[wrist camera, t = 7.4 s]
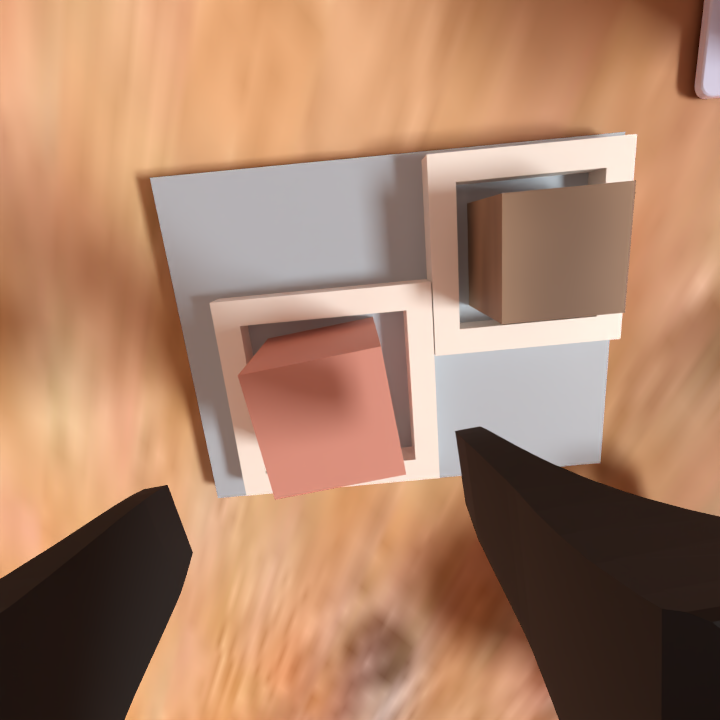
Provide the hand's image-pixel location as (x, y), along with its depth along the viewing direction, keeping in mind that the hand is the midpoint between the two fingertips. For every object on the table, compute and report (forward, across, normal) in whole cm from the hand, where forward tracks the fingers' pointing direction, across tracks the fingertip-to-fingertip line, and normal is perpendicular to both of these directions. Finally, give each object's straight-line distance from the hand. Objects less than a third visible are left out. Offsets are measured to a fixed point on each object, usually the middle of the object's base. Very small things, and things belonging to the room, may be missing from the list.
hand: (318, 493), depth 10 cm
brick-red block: (+8, 0, 0) cm, 8 cm away
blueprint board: (+9, -3, -1) cm, 10 cm away
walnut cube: (+8, -8, -4) cm, 13 cm away
